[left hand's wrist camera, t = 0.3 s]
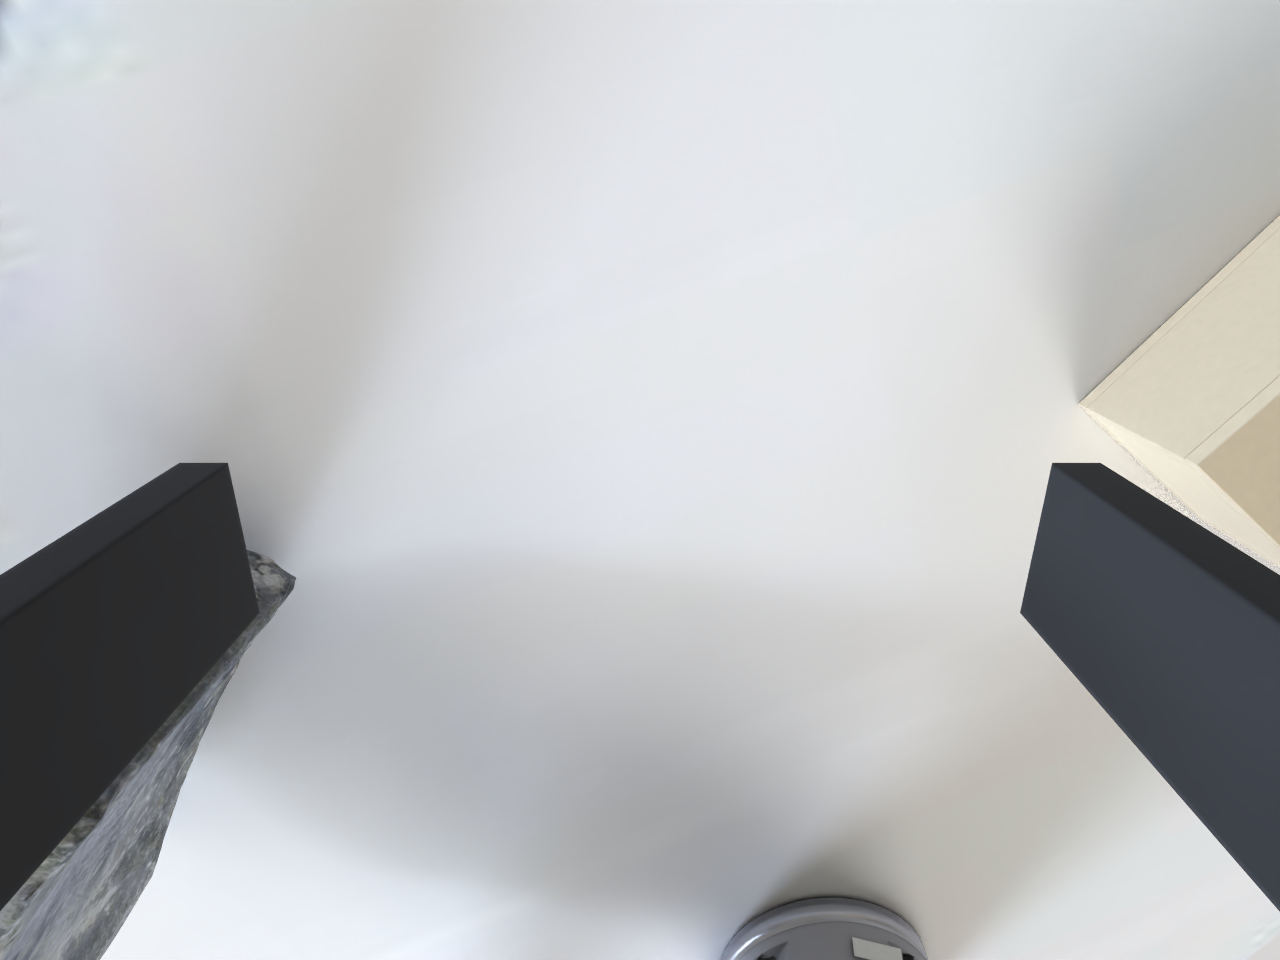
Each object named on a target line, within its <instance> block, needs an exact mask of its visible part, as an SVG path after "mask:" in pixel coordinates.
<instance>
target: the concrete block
mask: <svg viewBox="0 0 1280 960" xmlns="http://www.w3.org/2000/svg"><path fill="white" fill-rule="evenodd" d="M246 551H247V555H248V560H249V565H250V569H251V574H252V579H253V583H254V588H255V593H256V598H257V602H258V607H259V612H260V613H259V614H258V615H257V616H256V618H255V619H254V620H253V621H252V622H251V623H250V624H249V626H248V627H247V628H246V629H245V630H244V631H243V633H242V634H241V635H240V636H239V637H238V638H237V639H236V641H235V642H234V643H233V644H232V645H231V646H230V647H229V649H228V650H227V651H226V652H225V653H224V654H223V656H222V657H221V658H220V659H219V660H218V661H217V662H216V664H215V665H214V666H213V667H212V668H211V669H210V671H209V672H208V673H207V674H206V675H205V676H204V677H203V679H202V680H201V681H200V682H199V683H198V684H197V685H196V687H195V688H194V689H193V690H192V691H191V692H190V694H189V695H188V696H187V697H186V698H185V699H184V700H183V702H182V703H181V704H180V705H179V706H178V707H177V708H176V710H175V711H174V712H173V713H172V714H171V715H170V717H169V718H168V719H167V720H166V721H165V722H164V723H163V725H162V726H161V727H160V728H159V729H158V730H157V732H156V733H155V734H154V735H153V736H152V737H151V738H150V740H149V741H148V742H147V743H146V744H145V745H144V746H143V748H142V749H141V750H140V751H139V752H138V753H137V755H136V756H135V757H134V758H133V759H132V760H131V761H130V763H129V764H128V765H127V766H126V767H125V768H124V770H123V771H122V772H121V773H120V774H119V775H118V776H117V778H116V779H115V780H114V781H113V782H112V783H111V784H110V786H109V787H108V788H107V789H106V790H105V791H104V793H103V794H102V795H101V796H100V797H99V798H98V799H97V801H96V802H95V803H94V804H93V805H92V806H91V808H90V809H89V810H88V811H87V812H86V813H85V814H84V816H83V817H82V818H81V819H80V820H79V821H78V822H77V824H76V825H75V826H74V827H73V828H72V829H71V831H70V832H69V833H68V834H67V835H66V836H65V837H64V839H63V840H62V841H61V842H60V843H59V844H58V845H57V847H56V848H55V849H54V850H53V851H52V852H51V854H50V855H49V856H48V857H47V858H46V859H45V860H44V862H43V863H42V864H41V865H40V866H39V867H38V869H37V870H36V871H35V872H34V873H33V874H32V875H31V877H30V878H29V879H28V880H27V881H26V882H25V883H24V885H23V886H22V887H21V888H20V889H19V890H18V892H17V893H16V894H15V895H14V896H13V897H12V898H11V900H10V901H9V902H8V903H7V904H6V905H5V907H4V908H3V909H2V910H1V911H0V960H100V959H101V957H102V956H103V954H104V953H105V951H106V950H107V948H108V947H109V946H110V944H111V942H112V941H113V939H114V938H115V936H116V935H117V933H118V931H119V930H120V928H121V927H122V925H123V923H124V922H125V920H126V918H127V917H128V915H129V914H130V912H131V910H132V909H133V907H134V905H135V904H136V902H137V900H138V899H139V897H140V895H141V893H142V892H143V890H144V888H145V887H146V885H147V884H148V882H149V880H150V879H151V877H152V875H153V872H154V869H155V866H156V863H157V860H158V857H159V854H160V850H161V847H162V843H163V839H164V836H165V833H166V830H167V828H168V825H169V822H170V818H171V815H172V812H173V810H174V807H175V804H176V801H177V798H178V795H179V792H180V789H181V787H182V784H183V782H184V780H185V778H186V774H187V772H188V770H189V767H190V765H191V763H192V761H193V758H194V756H195V753H196V751H197V748H198V745H199V742H200V740H201V738H202V736H203V734H204V732H205V729H206V727H207V725H208V723H209V721H210V719H211V716H212V714H213V712H214V709H215V707H216V705H217V702H218V700H219V698H220V697H221V695H222V693H223V692H224V689H225V687H226V685H227V684H228V682H229V680H230V679H231V677H232V675H233V674H234V672H235V670H236V669H237V667H238V664H239V660H240V658H241V656H242V655H243V653H244V651H245V650H246V649H247V648H248V647H249V646H250V644H251V642H252V640H253V639H254V637H255V636H256V635H257V634H258V633H259V632H260V631H261V630H262V629H263V628H264V626H265V625H266V624H267V623H268V622H269V621H270V620H271V618H272V617H273V616H274V614H275V613H276V611H277V609H278V608H279V607H280V605H281V604H282V603H283V602H284V601H285V599H286V598H287V597H288V595H289V594H290V593H291V591H292V590H293V588H294V584H295V580H296V577H294V576H292V575H290V574H289V573H287V572H286V571H284V570H283V569H281V568H280V567H279V566H278V565H277V564H276V563H275V562H274V561H273V560H271V559H269V558H267V557H265V556H263V555H260V554H258V553H255V552H252V551H249V550H246Z"/></svg>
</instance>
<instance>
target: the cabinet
mask: <svg viewBox="0 0 1280 960" xmlns="http://www.w3.org/2000/svg"><path fill="white" fill-rule="evenodd" d="M1079 406H1080V407H1081V408H1083V409H1084V410H1085V411H1086V412H1087V413H1088V414H1089V415H1090V416H1091V417H1092V418H1093V419H1094V420H1095V421H1096V422H1097V423H1098V424H1099V425H1100V426H1101V427H1102V428H1103V429H1105V430H1106V431H1107V432H1108V433H1109V434H1110V435H1111V436H1112V437H1113V438H1114V439H1115V440H1116V441H1117V442H1118V443H1119V444H1120V445H1121V446H1122V447H1123V448H1124V449H1125V450H1127V451H1128V452H1129V453H1130V454H1131V455H1132V456H1133V457H1134V458H1135V459H1136V460H1137V461H1138V462H1139V463H1140V464H1141V465H1142V466H1143V467H1144V468H1145V469H1146V470H1147V471H1149V472H1150V473H1151V474H1152V475H1153V476H1154V477H1155V478H1156V479H1157V480H1158V481H1159V482H1160V483H1161V484H1162V485H1163V486H1164V487H1165V488H1166V489H1167V490H1168V491H1169V492H1171V493H1172V494H1173V495H1174V496H1175V497H1176V498H1177V499H1178V500H1179V501H1180V502H1181V503H1182V504H1183V505H1184V506H1185V507H1186V508H1187V509H1188V510H1189V511H1190V512H1191V513H1193V514H1194V515H1195V516H1196V517H1197V518H1199V519H1200V520H1202V521H1204V522H1205V523H1207V524H1209V525H1210V526H1212V527H1213V528H1215V529H1217V530H1218V531H1220V532H1222V533H1223V534H1225V535H1226V536H1228V537H1230V538H1231V539H1233V540H1235V541H1236V542H1238V543H1240V544H1241V545H1243V546H1244V547H1246V548H1248V549H1249V550H1251V551H1253V552H1254V553H1256V554H1257V555H1259V556H1261V557H1262V558H1264V559H1266V560H1267V561H1269V562H1271V563H1272V564H1274V565H1275V566H1277V567H1279V568H1280V215H1279V216H1278V217H1277V218H1276V219H1275V220H1274V221H1273V222H1272V223H1271V224H1270V225H1268V226H1267V227H1266V228H1265V229H1264V230H1263V231H1262V232H1261V233H1260V234H1259V235H1258V236H1257V237H1256V238H1255V239H1254V240H1252V241H1251V242H1250V243H1249V244H1248V245H1247V246H1246V247H1245V248H1244V249H1243V250H1242V251H1241V252H1240V253H1239V254H1238V255H1236V256H1235V257H1234V258H1233V259H1232V260H1231V261H1230V262H1229V263H1228V264H1227V265H1226V266H1225V267H1224V268H1223V269H1222V270H1220V271H1219V272H1218V273H1217V274H1216V275H1215V276H1214V277H1213V278H1212V279H1211V280H1210V281H1209V282H1208V283H1207V284H1206V285H1205V286H1203V287H1202V288H1201V289H1200V290H1199V291H1198V292H1197V293H1196V294H1195V295H1194V296H1193V297H1192V298H1191V299H1190V300H1189V301H1187V302H1186V303H1185V304H1184V305H1183V306H1182V307H1181V308H1180V309H1179V310H1178V311H1177V312H1176V313H1175V314H1174V315H1173V316H1171V317H1170V318H1169V319H1168V320H1167V321H1166V322H1165V323H1164V324H1163V325H1162V326H1161V327H1160V328H1159V329H1158V330H1157V331H1156V332H1154V333H1153V334H1152V335H1151V336H1150V337H1149V338H1148V339H1147V340H1146V341H1145V342H1144V343H1143V344H1142V345H1141V346H1140V347H1138V348H1137V349H1136V350H1135V351H1134V352H1133V353H1132V354H1131V355H1130V356H1129V357H1128V358H1127V359H1126V360H1125V361H1124V362H1122V363H1121V364H1120V365H1119V366H1118V367H1117V368H1116V369H1115V370H1114V371H1113V372H1112V373H1111V374H1110V375H1109V376H1108V377H1106V378H1105V379H1104V380H1103V381H1102V382H1101V383H1100V384H1099V385H1098V386H1097V387H1096V388H1095V389H1094V390H1093V391H1092V392H1091V393H1089V394H1088V395H1087V396H1086V397H1085V398H1084V399H1083V400H1082V401H1081V402H1080V403H1079Z"/></svg>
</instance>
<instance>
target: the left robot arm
mask: <svg viewBox="0 0 1280 960" xmlns="http://www.w3.org/2000/svg"><path fill="white" fill-rule="evenodd" d="M259 613H260V612H259V607H258V602H257V598H256V593H255V588H254V583H253V579H252V574H251V569H250V565H249V560H248V555H247V551H246V546H245V541H244V537H243V532H242V527H241V523H240V518H239V513H238V509H237V504H236V499H235V495H234V490H233V485H232V481H231V476H230V471H229V467H228V463H179V464H177V465H176V466H174V467H172V468H171V469H169V470H168V471H166V472H164V473H163V474H161V475H160V476H158V477H156V478H155V479H153V480H152V481H150V482H148V483H147V484H145V485H144V486H142V487H140V488H139V489H137V490H136V491H134V492H132V493H131V494H129V495H128V496H126V497H124V498H123V499H121V500H120V501H118V502H116V503H115V504H113V505H112V506H110V507H108V508H107V509H105V510H104V511H102V512H101V513H99V514H97V515H96V516H94V517H93V518H91V519H89V520H88V521H86V522H85V523H83V524H81V525H80V526H78V527H77V528H75V529H73V530H72V531H70V532H69V533H67V534H65V535H64V536H62V537H61V538H59V539H57V540H56V541H54V542H53V543H51V544H49V545H48V546H46V547H45V548H43V549H41V550H40V551H38V552H37V553H35V554H33V555H32V556H30V557H29V558H27V559H25V560H24V561H22V562H21V563H19V564H17V565H16V566H14V567H13V568H11V569H9V570H8V571H6V572H5V573H3V574H1V575H0V911H1V910H2V909H3V908H4V907H5V905H6V904H7V903H8V902H9V901H10V900H11V898H12V897H13V896H14V895H15V894H16V893H17V892H18V890H19V889H20V888H21V887H22V886H23V885H24V883H25V882H26V881H27V880H28V879H29V878H30V877H31V875H32V874H33V873H34V872H35V871H36V870H37V869H38V867H39V866H40V865H41V864H42V863H43V862H44V860H45V859H46V858H47V857H48V856H49V855H50V854H51V852H52V851H53V850H54V849H55V848H56V847H57V845H58V844H59V843H60V842H61V841H62V840H63V839H64V837H65V836H66V835H67V834H68V833H69V832H70V831H71V829H72V828H73V827H74V826H75V825H76V824H77V822H78V821H79V820H80V819H81V818H82V817H83V816H84V814H85V813H86V812H87V811H88V810H89V809H90V808H91V806H92V805H93V804H94V803H95V802H96V801H97V799H98V798H99V797H100V796H101V795H102V794H103V793H104V791H105V790H106V789H107V788H108V787H109V786H110V784H111V783H112V782H113V781H114V780H115V779H116V778H117V776H118V775H119V774H120V773H121V772H122V771H123V770H124V768H125V767H126V766H127V765H128V764H129V763H130V761H131V760H132V759H133V758H134V757H135V756H136V755H137V753H138V752H139V751H140V750H141V749H142V748H143V746H144V745H145V744H146V743H147V742H148V741H149V740H150V738H151V737H152V736H153V735H154V734H155V733H156V732H157V730H158V729H159V728H160V727H161V726H162V725H163V723H164V722H165V721H166V720H167V719H168V718H169V717H170V715H171V714H172V713H173V712H174V711H175V710H176V708H177V707H178V706H179V705H180V704H181V703H182V702H183V700H184V699H185V698H186V697H187V696H188V695H189V694H190V692H191V691H192V690H193V689H194V688H195V687H196V685H197V684H198V683H199V682H200V681H201V680H202V679H203V677H204V676H205V675H206V674H207V673H208V672H209V671H210V669H211V668H212V667H213V666H214V665H215V664H216V662H217V661H218V660H219V659H220V658H221V657H222V656H223V654H224V653H225V652H226V651H227V650H228V649H229V647H230V646H231V645H232V644H233V643H234V642H235V641H236V639H237V638H238V637H239V636H240V635H241V634H242V633H243V631H244V630H245V629H246V628H247V627H248V626H249V624H250V623H251V622H252V621H253V620H254V619H255V618H256V616H257V615H258V614H259ZM1020 613H1021V614H1022V615H1023V616H1024V618H1025V619H1026V620H1027V621H1028V622H1029V623H1030V624H1031V626H1032V627H1033V628H1034V629H1035V630H1036V631H1037V633H1038V634H1039V635H1040V636H1041V637H1042V638H1043V639H1044V641H1045V642H1046V643H1047V644H1048V645H1049V646H1050V647H1051V649H1052V650H1053V651H1054V652H1055V653H1056V654H1057V656H1058V657H1059V658H1060V659H1061V660H1062V661H1063V662H1064V664H1065V665H1066V666H1067V667H1068V668H1069V669H1070V671H1071V672H1072V673H1073V674H1074V675H1075V676H1076V677H1077V679H1078V680H1079V681H1080V682H1081V683H1082V684H1083V685H1084V687H1085V688H1086V689H1087V690H1088V691H1089V692H1090V694H1091V695H1092V696H1093V697H1094V698H1095V699H1096V700H1097V702H1098V703H1099V704H1100V705H1101V706H1102V707H1103V708H1104V710H1105V711H1106V712H1107V713H1108V714H1109V715H1110V717H1111V718H1112V719H1113V720H1114V721H1115V722H1116V723H1117V725H1118V726H1119V727H1120V728H1121V729H1122V730H1123V732H1124V733H1125V734H1126V735H1127V736H1128V737H1129V738H1130V740H1131V741H1132V742H1133V743H1134V744H1135V745H1136V746H1137V748H1138V749H1139V750H1140V751H1141V752H1142V753H1143V755H1144V756H1145V757H1146V758H1147V759H1148V760H1149V761H1150V763H1151V764H1152V765H1153V766H1154V767H1155V768H1156V770H1157V771H1158V772H1159V773H1160V774H1161V775H1162V776H1163V778H1164V779H1165V780H1166V781H1167V782H1168V783H1169V784H1170V786H1171V787H1172V788H1173V789H1174V790H1175V791H1176V793H1177V794H1178V795H1179V796H1180V797H1181V798H1182V799H1183V801H1184V802H1185V803H1186V804H1187V805H1188V806H1189V808H1190V809H1191V810H1192V811H1193V812H1194V813H1195V814H1196V816H1197V817H1198V818H1199V819H1200V820H1201V821H1202V822H1203V824H1204V825H1205V826H1206V827H1207V828H1208V829H1209V831H1210V832H1211V833H1212V834H1213V835H1214V836H1215V837H1216V839H1217V840H1218V841H1219V842H1220V843H1221V844H1222V845H1223V847H1224V848H1225V849H1226V850H1227V851H1228V852H1229V854H1230V855H1231V856H1232V857H1233V858H1234V859H1235V860H1236V862H1237V863H1238V864H1239V865H1240V866H1241V867H1242V869H1243V870H1244V871H1245V872H1246V873H1247V874H1248V875H1249V877H1250V878H1251V879H1252V880H1253V881H1254V882H1255V883H1256V885H1257V886H1258V887H1259V888H1260V889H1261V890H1262V892H1263V893H1264V894H1265V895H1266V896H1267V897H1268V898H1269V900H1270V901H1271V902H1272V903H1273V904H1274V905H1275V907H1276V908H1277V909H1278V910H1279V911H1280V575H1279V574H1277V573H1275V572H1274V571H1272V570H1271V569H1269V568H1267V567H1266V566H1264V565H1263V564H1261V563H1259V562H1258V561H1256V560H1255V559H1253V558H1251V557H1250V556H1248V555H1247V554H1245V553H1243V552H1242V551H1240V550H1239V549H1237V548H1235V547H1234V546H1232V545H1231V544H1229V543H1227V542H1226V541H1224V540H1223V539H1221V538H1219V537H1218V536H1216V535H1215V534H1213V533H1211V532H1210V531H1208V530H1207V529H1205V528H1203V527H1202V526H1200V525H1199V524H1197V523H1195V522H1194V521H1192V520H1191V519H1189V518H1187V517H1186V516H1184V515H1183V514H1181V513H1179V512H1178V511H1176V510H1175V509H1173V508H1172V507H1170V506H1168V505H1167V504H1165V503H1164V502H1162V501H1160V500H1159V499H1157V498H1156V497H1154V496H1152V495H1151V494H1149V493H1148V492H1146V491H1144V490H1143V489H1141V488H1140V487H1138V486H1136V485H1135V484H1133V483H1132V482H1130V481H1128V480H1127V479H1125V478H1124V477H1122V476H1120V475H1119V474H1117V473H1116V472H1114V471H1112V470H1111V469H1109V468H1108V467H1106V466H1104V465H1103V464H1101V463H1052V467H1051V471H1050V476H1049V481H1048V485H1047V490H1046V495H1045V499H1044V504H1043V509H1042V513H1041V518H1040V523H1039V527H1038V532H1037V537H1036V541H1035V546H1034V551H1033V555H1032V560H1031V565H1030V569H1029V574H1028V579H1027V583H1026V588H1025V593H1024V598H1023V602H1022V607H1021V612H1020ZM721 960H928V958H927V955H926V952H925V950H924V947H923V944H922V942H921V940H920V938H919V936H918V935H917V934H916V932H915V931H914V930H913V928H912V927H911V926H910V925H909V924H908V923H907V922H905V921H904V920H903V919H902V918H900V917H899V916H898V915H896V914H894V913H893V912H891V911H889V910H887V909H885V908H882V907H880V906H877V905H875V904H872V903H868V902H864V901H860V900H854V899H847V898H815V899H807V900H802V901H797V902H793V903H789V904H786V905H783V906H780V907H777V908H775V909H773V910H770V911H768V912H766V913H764V914H762V915H760V916H759V917H757V918H755V919H754V920H752V921H751V922H750V923H748V924H747V925H746V926H744V927H743V928H742V929H741V930H740V931H739V932H738V933H737V934H736V935H735V936H734V937H733V938H732V940H731V941H730V942H729V944H728V945H727V947H726V949H725V950H724V952H723V955H722V957H721Z"/></svg>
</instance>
